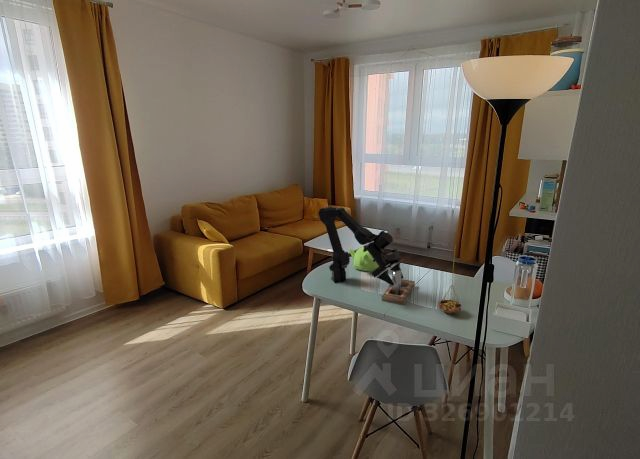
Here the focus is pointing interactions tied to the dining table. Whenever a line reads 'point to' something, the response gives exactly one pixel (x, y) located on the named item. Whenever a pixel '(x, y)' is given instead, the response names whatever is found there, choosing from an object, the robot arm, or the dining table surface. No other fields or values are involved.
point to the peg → (396, 282)
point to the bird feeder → (450, 301)
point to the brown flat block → (404, 294)
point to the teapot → (363, 260)
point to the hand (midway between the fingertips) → (398, 281)
